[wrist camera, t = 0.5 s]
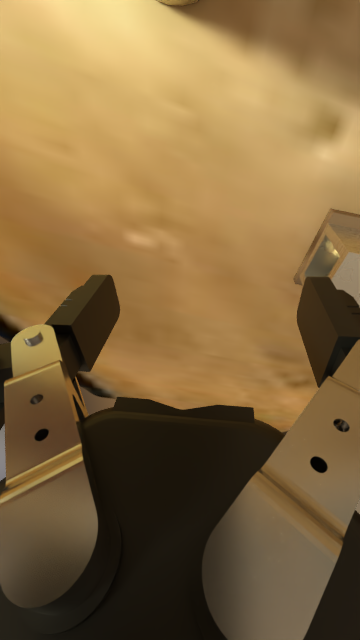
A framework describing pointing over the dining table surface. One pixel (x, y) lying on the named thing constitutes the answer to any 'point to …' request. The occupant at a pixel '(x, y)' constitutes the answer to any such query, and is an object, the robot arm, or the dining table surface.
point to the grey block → (337, 244)
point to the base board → (333, 218)
